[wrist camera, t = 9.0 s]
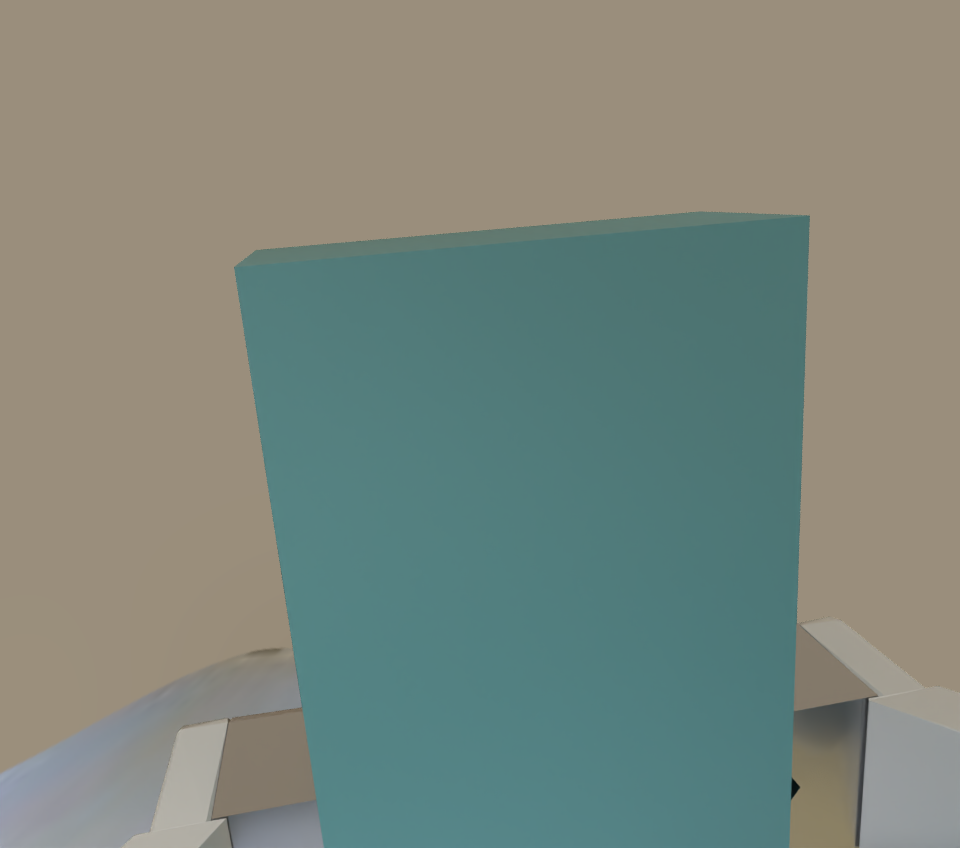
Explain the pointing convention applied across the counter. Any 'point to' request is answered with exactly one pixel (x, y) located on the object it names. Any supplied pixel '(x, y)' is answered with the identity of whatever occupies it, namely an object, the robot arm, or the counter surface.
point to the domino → (540, 526)
